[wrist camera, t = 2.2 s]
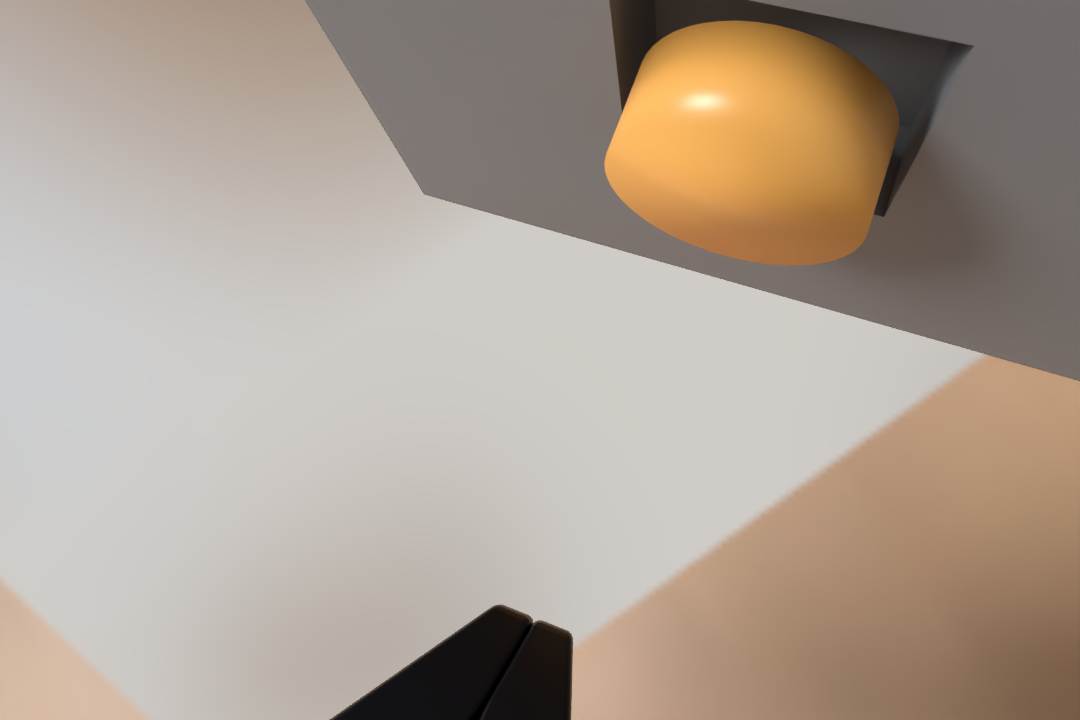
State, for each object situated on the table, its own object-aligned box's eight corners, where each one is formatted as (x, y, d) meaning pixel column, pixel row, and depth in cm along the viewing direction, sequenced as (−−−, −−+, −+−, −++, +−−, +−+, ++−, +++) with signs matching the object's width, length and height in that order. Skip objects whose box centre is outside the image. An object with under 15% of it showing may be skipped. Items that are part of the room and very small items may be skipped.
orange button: (840, 288, 16) (901, 170, 11) (613, 225, 17) (592, 95, 12) (866, 201, 16) (934, 57, 12) (643, 146, 17) (632, -5, 13)
